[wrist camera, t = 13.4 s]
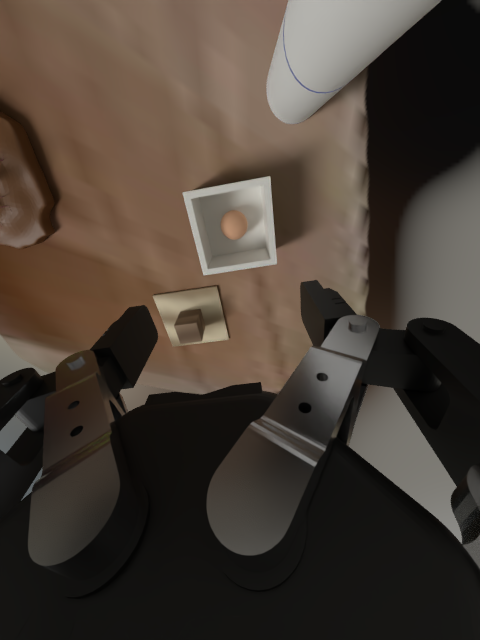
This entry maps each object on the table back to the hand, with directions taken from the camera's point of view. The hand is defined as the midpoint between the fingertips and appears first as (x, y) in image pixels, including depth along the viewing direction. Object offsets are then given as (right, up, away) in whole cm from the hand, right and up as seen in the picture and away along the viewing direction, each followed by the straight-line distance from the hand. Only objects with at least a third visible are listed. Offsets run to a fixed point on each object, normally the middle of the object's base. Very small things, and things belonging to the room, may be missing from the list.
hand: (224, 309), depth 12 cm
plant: (-37, +21, +21) cm, 47 cm away
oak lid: (-8, 0, +34) cm, 35 cm away
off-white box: (0, +15, +24) cm, 28 cm away
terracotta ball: (0, +13, +22) cm, 26 cm away
